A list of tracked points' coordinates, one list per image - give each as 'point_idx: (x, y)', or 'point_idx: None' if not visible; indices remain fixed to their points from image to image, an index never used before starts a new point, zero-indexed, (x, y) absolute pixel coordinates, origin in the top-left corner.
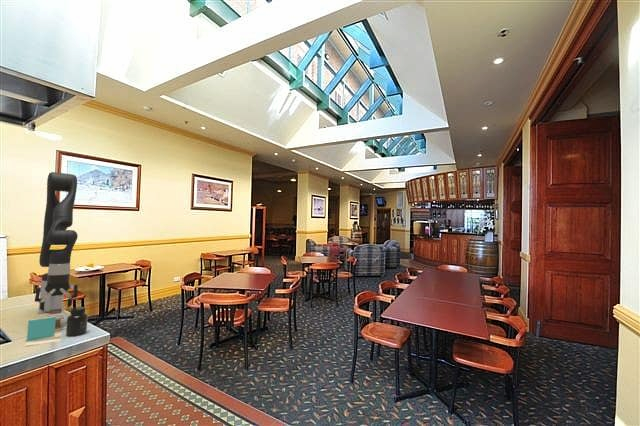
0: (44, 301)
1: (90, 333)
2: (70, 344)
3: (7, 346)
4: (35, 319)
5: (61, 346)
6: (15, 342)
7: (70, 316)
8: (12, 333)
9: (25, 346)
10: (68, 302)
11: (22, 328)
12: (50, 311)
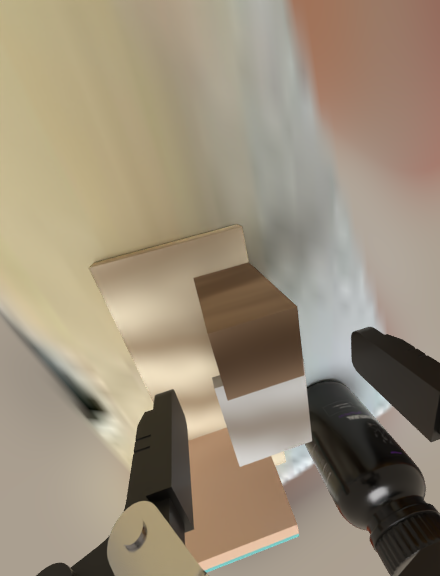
0: (168, 488)
1: (361, 385)
2: (307, 458)
3: (122, 453)
4: (210, 566)
5: (286, 467)
6: (129, 425)
7: (360, 528)
8: (34, 311)
9: None
10: (402, 410)
11: (32, 225)
12: (227, 379)
